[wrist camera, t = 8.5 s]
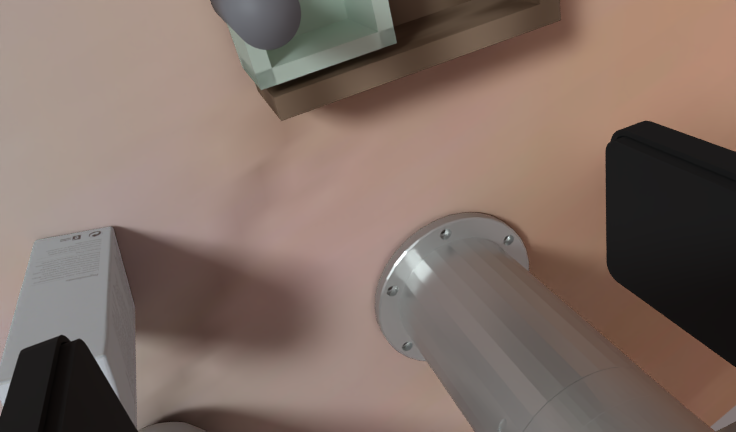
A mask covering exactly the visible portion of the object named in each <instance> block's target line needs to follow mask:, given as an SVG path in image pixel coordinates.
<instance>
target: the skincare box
mask: <svg viewBox="0 0 736 432" xmlns="http://www.w3.org/2000/svg"><path fill="white" fill-rule="evenodd" d="M59 335H64V336H66V337H67V338H68V339H69V340H70V341H74V340H76V339H82V340H83V341H84V342H85V343H86V345H87V346H88V348H89V350H90V351H91V353H92V355H93V356H94V358H95V360H96V361H97V363H98V365H99V367H100V368H101V370H102V372H103V373H104V375H105V377H106V378H107V380H108V382H109V383H110V385H111V387H112V388H113V390H114V392H115V394H116V395H117V397H118V399H119V400H120V402H121V404H122V405H123V407H124V409H125V410H126V412H127V414H128V415H129V417H130V419H131V420H132V422H133V424H134V426H135V427H136V429H137V402H136V349H135V305H134V301H133V298H132V294H131V290H130V287H129V283H128V280H127V276H126V272H125V268H124V265H123V261H122V258H121V254H120V250H119V247H118V243H117V240H116V236H115V232H114V229H113V227H104V228H99V229H93V230H88V231H83V232H77V233H72V234H67V235H61V236H55V237H50V238H44V239H39V240H36V241H35V242H34V245H33V248H32V252H31V255H30V259H29V263H28V266H27V270H26V274H25V277H24V281H23V284H22V288H21V291H20V294H19V298H18V301H17V306H16V309H15V313H14V316H13V320H12V323H11V327H10V331H9V335H8V338H7V342H6V345H5V349H4V352H3V356H2V360H1V363H0V400H1V402H2V405H3V406H4V403H5V399H6V396H7V393H8V389H9V386H10V383H11V379H12V376H13V373H14V369H15V366H16V362H17V359H18V356H19V353H20V351H21V350H22V349H24V348H27V347H30V346H32V345H35V344H38V343H40V342H43V341H46V340H49V339H51V338H54V337H57V336H59Z"/></svg>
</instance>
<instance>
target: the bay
mask: <svg viewBox="0 0 736 432" xmlns="http://www.w3.org/2000/svg"><path fill="white" fill-rule="evenodd" d="M388 3H389V7H390V12H391V17H392V22H393V27H394V32H395V37H396V41H397V43H396V44H393V45H390V46H387V47H384V48H381V49H378V50H376V51H373V52H370V53H367V54H364V55H361V56H358V57H355V58H353V59H350V60H347V61H344V62H341V63H338V64H335V65H332V66H329V67H327V68H324V69H321V70H318V71H315V72H312V73H309V74H306V75H304V76H301V77H298V78H295V79H292V80H289V81H286V82H283V83H281V84H278V85H275V86H272V87H269V88H266V89H263V90H260V88H259V87H258V86H257V85H256V86H257V89H258V92H259V93H260V94H261V96H262V97H263V98H264V100H265V101H266V102H267V103H268V105H269V106H270V107H271V108H272V110H273V111H274V112H275V114H276V115H277V116H278V117H279V119H280V120H281V121H283V120H285V119H288V118H291V117H294V116H297V115H299V114H302V113H305V112H308V111H310V110H313V109H316V108H319V107H321V106H324V105H327V104H330V103H333V102H335V101H338V100H341V99H344V98H346V97H349V96H352V95H355V94H357V93H360V92H363V91H366V90H369V89H371V88H374V87H377V86H380V85H382V84H385V83H388V82H391V81H394V80H396V79H399V78H402V77H405V76H407V75H410V74H413V73H416V72H418V71H421V70H424V69H427V68H430V67H432V66H435V65H438V64H441V63H443V62H446V61H449V60H452V59H454V58H457V57H460V56H463V55H466V54H468V53H471V52H474V51H477V50H479V49H482V48H485V47H488V46H490V45H493V44H496V43H499V42H502V41H504V40H507V39H510V38H513V37H515V36H518V35H521V34H524V33H526V32H529V31H532V30H535V29H538V28H540V27H543V26H546V25H549V24H551V23H554V22H557V21H560V20H561V15H560V0H388ZM255 84H256V83H255Z"/></svg>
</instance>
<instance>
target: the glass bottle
mask: <svg viewBox="0 0 736 432" xmlns="http://www.w3.org/2000/svg"><path fill="white" fill-rule="evenodd" d="M138 432H207V431H205V430H203V429H201V428H198V427H196V426H193V425H190V424H188V423H185V422H166V423H157V424H154V425H150V426H147V427H145V428H143V429H141V430H139V431H138Z"/></svg>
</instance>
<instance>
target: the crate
mask: <svg viewBox="0 0 736 432" xmlns="http://www.w3.org/2000/svg"><path fill="white" fill-rule="evenodd" d="M210 1H211V4H212V6H213V8H214V10H215V11H216V13H217V14H218V15H219V16H220V17H221V18H222V19H223V20H224V21H225V22H226V23H227V25H228V28H229V31H230V33H231V36H232V39H233V42H234V45H235V48H236V50H237V53H238V56H239V59H240V62H241V65H242V67H243V68H244V70H245V71H246V72H247V73H248V75H249V76H250V77H251V78H252V80H253V81H254V82H255V83H256V85H257V86H258V87H259V88H260V90H263V89H266V88H269V87H272V86H275V85H278V84H281V83H283V82H286V81H289V80H292V79H295V78H298V77H301V76H304V75H306V74H309V73H312V72H315V71H318V70H321V69H324V68H327V67H329V66H332V65H335V64H338V63H341V62H344V61H347V60H350V59H353V58H355V57H358V56H361V55H364V54H367V53H370V52H373V51H376V50H378V49H381V48H384V47H387V46H390V45H393V44H396V43H397V41H396V37H395V32H394V27H393V22H392V17H391V12H390V7H389V3H388V0H210Z"/></svg>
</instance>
